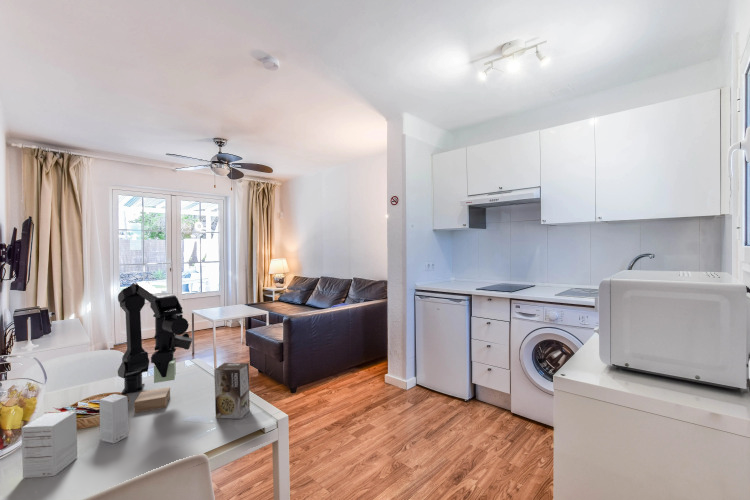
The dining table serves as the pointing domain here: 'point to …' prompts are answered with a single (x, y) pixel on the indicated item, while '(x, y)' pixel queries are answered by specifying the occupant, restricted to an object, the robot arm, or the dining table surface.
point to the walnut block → (152, 399)
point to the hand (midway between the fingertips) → (165, 374)
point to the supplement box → (49, 444)
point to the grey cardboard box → (232, 390)
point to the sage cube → (170, 372)
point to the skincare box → (113, 418)
